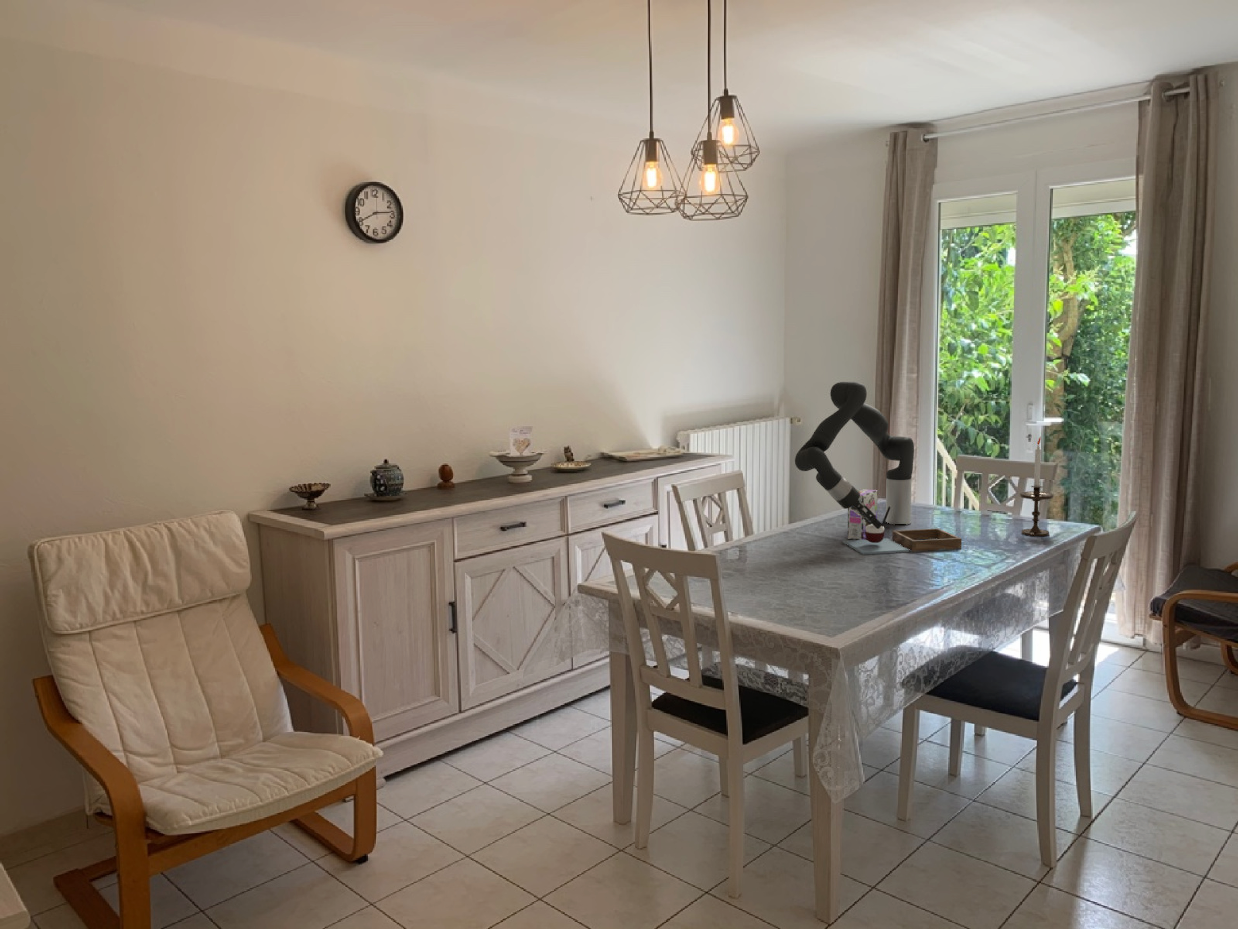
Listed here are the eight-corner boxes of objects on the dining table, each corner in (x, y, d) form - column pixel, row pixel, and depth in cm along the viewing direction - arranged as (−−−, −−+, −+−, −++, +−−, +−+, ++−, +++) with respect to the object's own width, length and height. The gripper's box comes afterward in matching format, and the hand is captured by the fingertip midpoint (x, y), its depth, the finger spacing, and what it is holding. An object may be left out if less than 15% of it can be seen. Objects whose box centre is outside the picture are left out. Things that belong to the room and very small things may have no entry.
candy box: (862, 541, 326) (863, 495, 324) (846, 539, 330) (847, 493, 328) (877, 534, 337) (878, 489, 335) (862, 532, 341) (862, 488, 339)
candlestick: (1045, 530, 335) (1049, 434, 330) (1056, 537, 325) (1060, 437, 320) (1014, 530, 336) (1017, 434, 332) (1024, 537, 326) (1027, 438, 321)
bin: (892, 540, 326) (892, 530, 326) (938, 538, 328) (938, 528, 327) (912, 551, 309) (913, 541, 309) (961, 548, 311) (961, 538, 311)
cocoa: (860, 543, 316) (858, 509, 314) (864, 539, 321) (863, 505, 319) (888, 544, 311) (887, 509, 309) (892, 540, 317) (891, 505, 315)
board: (843, 542, 325) (843, 540, 325) (887, 540, 326) (887, 538, 326) (862, 554, 307) (862, 552, 307) (909, 552, 309) (909, 549, 309)
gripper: (858, 487, 306) (892, 521, 309) (842, 480, 320) (875, 513, 323) (842, 503, 306) (876, 537, 309) (827, 496, 320) (860, 528, 323)
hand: (876, 524), depth 316 cm, fingers closed on cocoa, 6 cm apart
